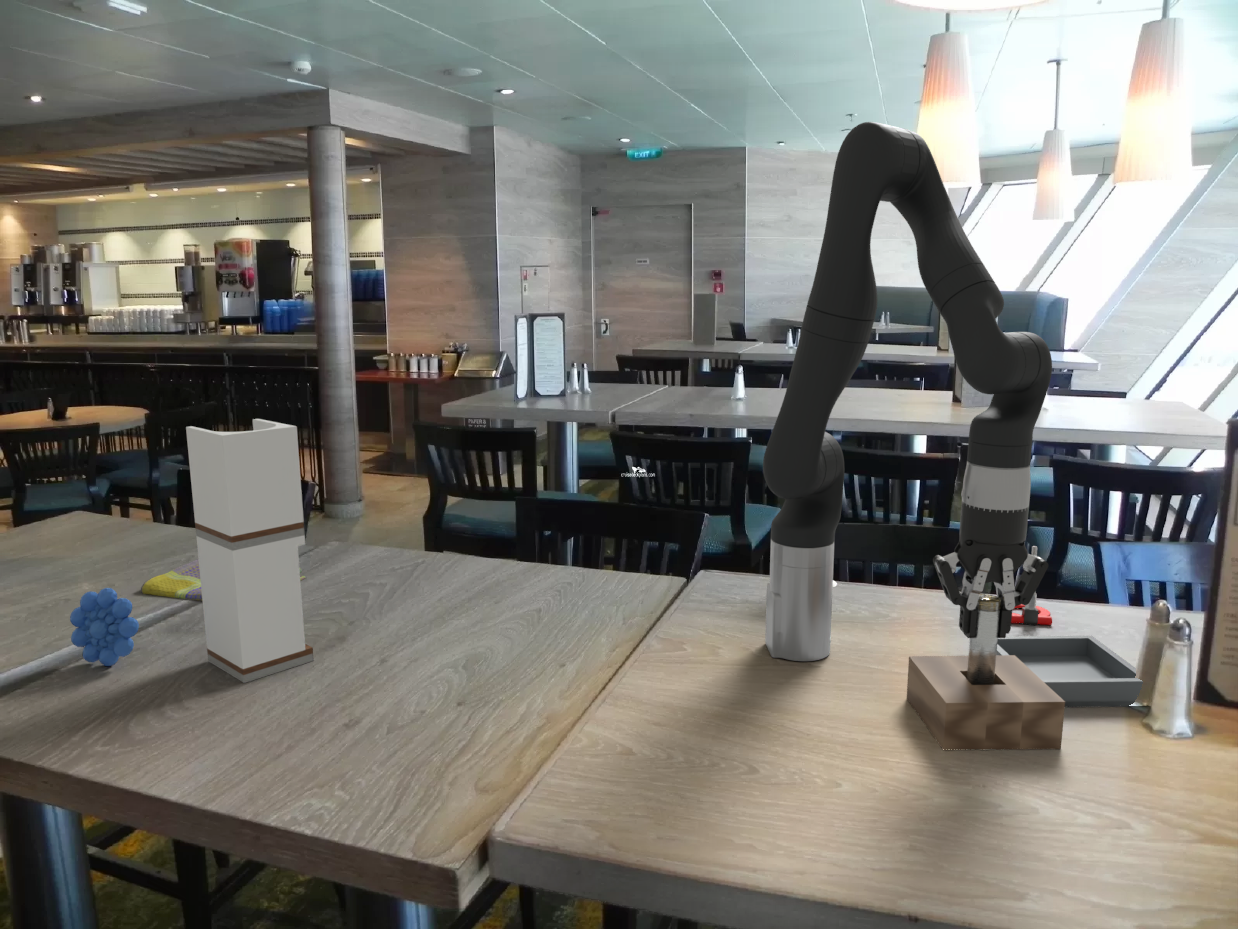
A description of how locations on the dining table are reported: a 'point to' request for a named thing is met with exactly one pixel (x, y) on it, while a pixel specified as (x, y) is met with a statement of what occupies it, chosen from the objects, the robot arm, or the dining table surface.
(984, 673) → the pin
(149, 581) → the dish towel
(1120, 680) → the tray
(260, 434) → the white open tower
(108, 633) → the blue beaded flower
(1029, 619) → the tow hook
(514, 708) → the dining table surface
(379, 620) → the dining table surface
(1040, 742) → the block
